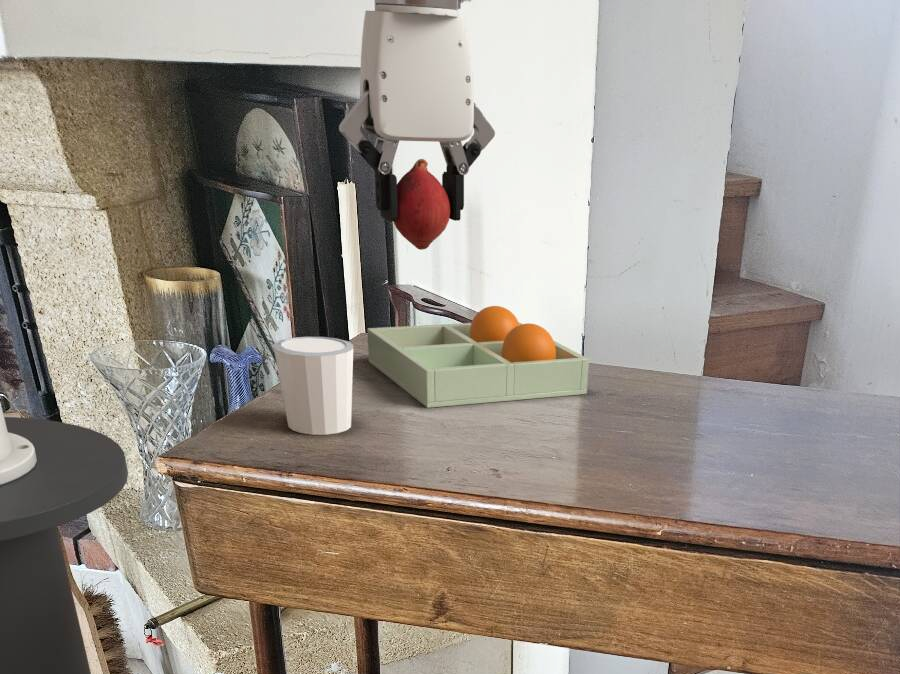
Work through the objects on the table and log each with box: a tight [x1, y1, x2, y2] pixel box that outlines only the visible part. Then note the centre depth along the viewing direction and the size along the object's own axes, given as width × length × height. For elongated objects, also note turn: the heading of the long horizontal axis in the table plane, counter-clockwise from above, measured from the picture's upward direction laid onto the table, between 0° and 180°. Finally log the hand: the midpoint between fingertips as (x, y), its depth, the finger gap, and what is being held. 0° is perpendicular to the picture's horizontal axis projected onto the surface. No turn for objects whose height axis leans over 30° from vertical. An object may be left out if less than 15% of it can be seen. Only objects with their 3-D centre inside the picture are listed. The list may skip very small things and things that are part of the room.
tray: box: [366, 322, 590, 409], centre depth 109 cm, size 18×18×4 cm
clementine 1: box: [470, 305, 520, 342], centre depth 113 cm, size 6×6×6 cm
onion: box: [392, 158, 450, 250], centre depth 102 cm, size 6×6×8 cm
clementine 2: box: [502, 322, 556, 363], centre depth 107 cm, size 6×6×6 cm
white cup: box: [273, 336, 354, 436], centre depth 92 cm, size 7×7×7 cm
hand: (420, 216), depth 103 cm, fingers closed on onion, 5 cm apart
